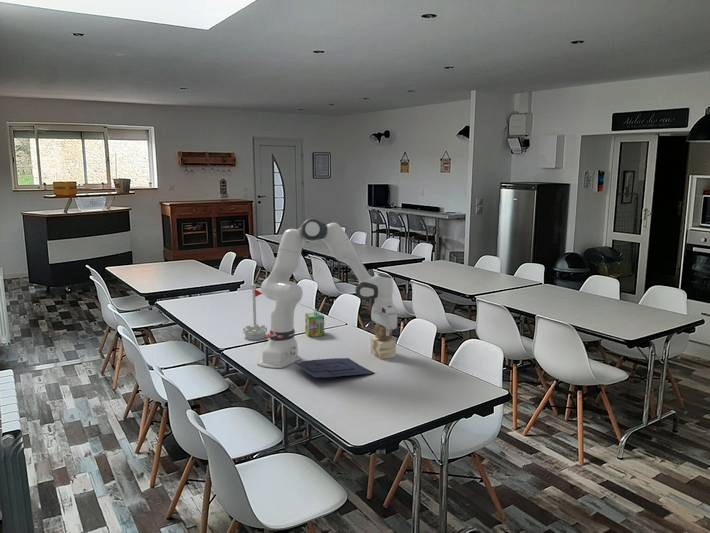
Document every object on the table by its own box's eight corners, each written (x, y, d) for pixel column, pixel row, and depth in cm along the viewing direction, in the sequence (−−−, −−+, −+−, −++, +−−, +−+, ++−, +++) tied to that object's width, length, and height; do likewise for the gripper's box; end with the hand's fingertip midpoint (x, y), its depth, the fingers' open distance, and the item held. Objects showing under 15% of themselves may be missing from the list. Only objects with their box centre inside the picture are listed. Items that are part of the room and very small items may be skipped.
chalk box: (305, 333, 301) (304, 307, 299) (320, 331, 304) (320, 306, 302) (308, 337, 293) (308, 311, 290) (324, 336, 295) (324, 310, 293)
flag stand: (239, 338, 291) (236, 285, 286) (250, 332, 303) (248, 280, 298) (260, 341, 287) (258, 286, 282) (271, 334, 299) (269, 282, 294)
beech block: (395, 356, 262) (395, 341, 261) (379, 359, 258) (379, 343, 257) (386, 351, 270) (386, 336, 269) (371, 353, 266) (371, 338, 265)
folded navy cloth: (291, 367, 244) (292, 359, 243) (347, 363, 260) (348, 356, 259) (316, 385, 223) (316, 376, 223) (374, 379, 239) (375, 371, 239)
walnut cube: (391, 338, 261) (391, 326, 260) (381, 340, 259) (381, 328, 258) (385, 335, 267) (385, 323, 266) (375, 336, 264) (375, 325, 263)
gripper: (368, 302, 268) (368, 329, 270) (388, 311, 250) (387, 340, 252) (379, 301, 271) (378, 327, 273) (399, 310, 252) (399, 338, 255)
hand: (383, 333), depth 262 cm, fingers closed on walnut cube, 6 cm apart
